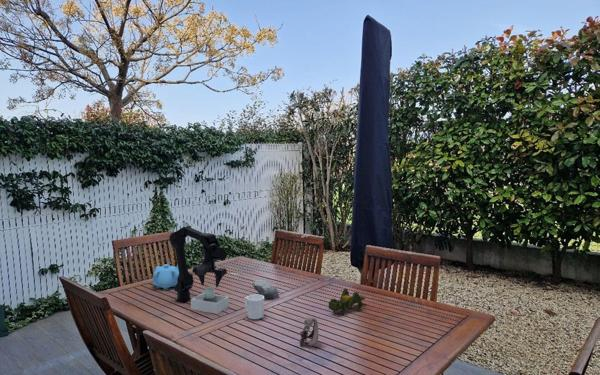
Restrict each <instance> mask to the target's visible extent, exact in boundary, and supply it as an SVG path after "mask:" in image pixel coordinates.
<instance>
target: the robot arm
mask: <svg viewBox="0 0 600 375" xmlns="http://www.w3.org/2000/svg"><path fill="white" fill-rule="evenodd" d="M187 237H190V238H192V239H195V240H197V241H198V242H199V244H201V245H202V246H201V247H200V249H201V250H203V259H202V260H201V264H200V265H199V264H198V265H196V266H193V268H192V273H190V272H189V268H188V262H187V257H186V252H185V245H186V241H187V240H186V238H187ZM169 241H170V244H171V246H172V247H173V248H174V251H175V257H176V262H177V264H178V270H179V275H178V278H177V284H176V286H175V287H173V290H174V292H176V298H177V299H176V300H175V302H178V303H184V304H185V303H186V302H189V301H191V299H192V297H191V292H190V290H191V289H193V285H194V281H195V280H194V276H193V274H194V275H196V276H197V277H198V279H199V281H200V284H201V286H204V285H205V277H206V275H207V274H208V273H211V274H212V273H213V274H214V278H215V288H218V287H219V285H220V282H221V280H222V278H223V276H225V275H227V274H228V270H227V268H223V267H219V268H217V266H216V261H217V260H218V261H225V259H226V258H227V257H228V256H227V255H228V253H227V250H226V249H225V247H224V246H221V244H220V242H219V240H218V239H217V237H216V234H214V233H208V232H207V233H206V232H202V231H200V230H197V229H195V228H192V227H191V226H183V227H181V228H179V229H178V230H176V231H174V232H172V233H171V234H170V235H169Z"/></svg>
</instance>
